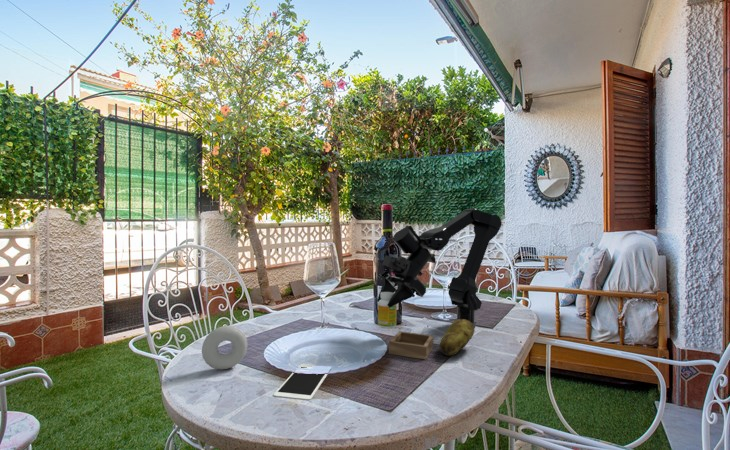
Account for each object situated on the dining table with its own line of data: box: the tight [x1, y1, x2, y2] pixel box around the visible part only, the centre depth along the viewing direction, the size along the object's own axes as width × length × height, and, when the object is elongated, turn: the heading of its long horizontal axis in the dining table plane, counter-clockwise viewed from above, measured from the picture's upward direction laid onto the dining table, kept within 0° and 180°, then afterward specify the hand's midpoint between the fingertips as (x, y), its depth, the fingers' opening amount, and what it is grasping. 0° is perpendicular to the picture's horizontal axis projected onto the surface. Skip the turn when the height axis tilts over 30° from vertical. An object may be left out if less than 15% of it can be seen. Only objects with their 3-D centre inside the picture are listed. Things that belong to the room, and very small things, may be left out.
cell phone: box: [273, 363, 329, 401], centre depth 80 cm, size 8×16×1 cm, turn 170°
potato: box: [439, 318, 475, 357], centre depth 99 cm, size 8×13×8 cm, turn 122°
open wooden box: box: [388, 330, 434, 360], centre depth 99 cm, size 10×10×3 cm
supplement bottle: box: [377, 292, 397, 329], centre depth 108 cm, size 5×5×10 cm
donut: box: [201, 325, 249, 370], centre depth 85 cm, size 10×4×10 cm, turn 118°
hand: (383, 304), depth 107 cm, fingers closed on supplement bottle, 5 cm apart
